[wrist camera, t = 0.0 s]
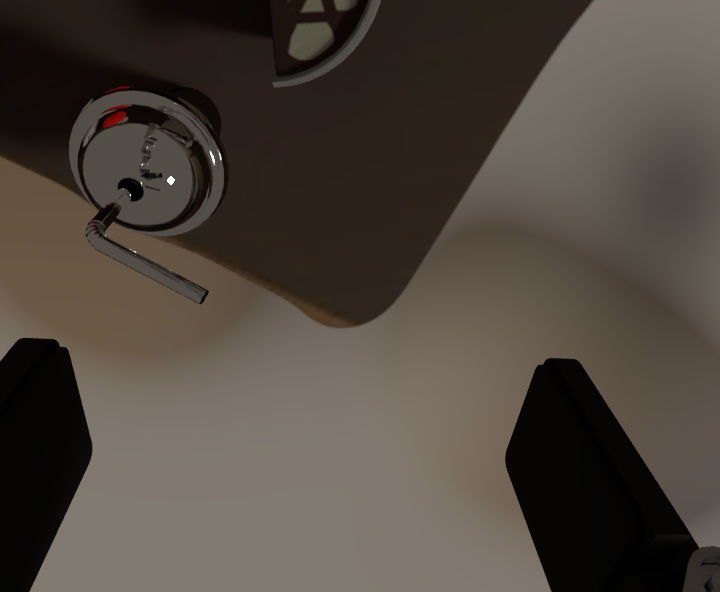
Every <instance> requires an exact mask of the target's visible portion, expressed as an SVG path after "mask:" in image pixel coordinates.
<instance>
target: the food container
mask: <svg viewBox="0 0 720 592" xmlns="http://www.w3.org/2000/svg"><path fill="white" fill-rule="evenodd" d="M380 2H381V0H270V13H271V25H272V37H273V48H274V59H275V73H274V78H273V82H272V83H273V84H274V87H285V86H293V85H297V84H300V83H304V82H307V81H310V80H313V79H315V78H317V77H319V76H321V75H323V74H325V73H327V72H328V71H330V70H331V69H333V68H334V67H336V66H337V65H339V64H340V63H341V62H342V61H343V60H344V59H345V58H346V57H347V56H348V55H349V54H350V53H351V52H353V51H354V49H355V48H356V47H357V45H358V44H359V43H360V41H361V40H362V39H363V37H364V36H365V35H366V33H367V31H368V29H369V27H370V25H371V24H372V22H373V20H374V18H375V15H376V13H377V10H378V7H379V5H380Z"/></svg>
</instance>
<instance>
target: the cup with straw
mask: <svg viewBox="0 0 720 592" xmlns="http://www.w3.org/2000/svg"><path fill="white" fill-rule="evenodd" d="M220 132H221V118H220V114H219V112H218V109H217V107H216V106H215V104H214V103H213V102H212V101H211V99H210V98H209V97H207V96H206V95H205V94H204V93H202V92H200V91H198V90H195V89H192V88H185V87H183V88H176V89H173V90H170V91H166V90H163V89H160V88H156V87H153V86H145V85H125V86H118V87H115V88H112V89H109V90H106V91H104V92H102V93H101V94H99V95H97V96H96V97H94V98H93V99H92V100H91V101H90V102H89V103H88V104H87V105H86V106H85V107H84V108H83V109H82V110H81V112H80V114H79V116H78V117H77V119H76V121H75V123H74V125H73V128H72V131H71V135H70V139H69V159H70V165H71V169H72V172H73V175H74V177H75V180H76V183H77V184H78V186H79V188H80V189H81V191H82V193H83V194H84V196H85V197H86V198H87V199H88V201H89V202H90V203H91V204H92V205H93V206H94V208H96V209H97V210H98V211H99V212H98V214H97V215H96V216H95V217H94V218H93V219H92V220H91V221H90V222H89V223H88V225H87V227H86V234H85V235H86V237H87V240H88V242H89V243H90V244H91V246H93V247H94V248H95V249H96V250H97V251H99V252H101V253H103V254H105V255H107V256H109V257H111V258H113V259H114V260H116V261H118V262H120V263H122V264H124V265H126V266H128V267H130V268H132V269H134V270H136V271H137V272H139V273H141V274H143V275H145V276H147V277H149V278H151V279H153V280H154V281H156V282H158V283H160V284H162V285H164V286H166V287H168V288H170V289H172V290H174V291H175V292H177V293H179V294H182V295H184V296H185V297H187V298H189V299H191V300H193V301H194V302H196V303H198V304H201V303H203V301H204V300H205V298H206V297H207V295H208V292H209V291H208V290H206V289H204V288H202V287H200V286H199V285H196V284H195V283H193V282H191V281H189V280H187V279H185V278H183V277H182V276H180V275H178V274H176V273H174V272H172V271H170V270H168V269H167V268H165V267H162V266H161V265H159V264H157V263H155V262H153V261H151V260H149V259H148V258H146V257H144V256H142V255H140V254H138V253H136V252H135V251H133V250H131V249H129V248H127V247H125V246H123V245H121V244H119V243H118V242H116V241H114V240H112V239H110V238H108V237H107V236H106V235H105V234H104V233H105V231H106V230H107V228H108V227H109V226H110V225H111V224H112V222H114V223H116V224H117V225H119V226H121V227H123V228H125V229H128V230H130V231H133V232H136V233H140V234H144V235H149V236H161V237H163V236H174V235H178V234H182V233H185V232H188V231H190V230H192V229H194V228H196V227H198V226H200V225H201V224H202V223H204V222H205V221H206V220H207V219H208V218H210V217H211V216H212V215H213V214H214V213H215V211H216V210H217V209H218V207H219V206H220V205H221V203H222V201H223V198H224V196H225V194H226V191H227V186H228V181H229V164H228V160H227V155H226V151H225V148H224V146H223V143H222V141H221V139H220Z"/></svg>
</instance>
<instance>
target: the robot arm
mask: <svg viewBox="0 0 720 592" xmlns="http://www.w3.org/2000/svg"><path fill="white" fill-rule="evenodd" d="M91 456H92V441H91V437H90V434H89V429H88V426H87V422H86V418H85V414H84V410H83V406H82V402H81V398H80V394H79V390H78V386H77V382H76V378H75V374H74V370H73V366H72V362H71V358H70V354H69V351H68V350H67V348H65V347H60V345H59V343H58V342H57V341H56V340H54V339H38V338H36V339H35V338H21V339H19V340H18V341H17V342H16V343H15V344H14V345H13V346H12V348H11V349H10V350H9V351H8V353H7V354H6V355H5V356H4V357H3V359H2V360H1V361H0V592H29V591H30V589H31V587H32V585H33V583H34V581H35V578H36V576H37V574H38V572H39V570H40V568H41V566H42V563H43V561H44V559H45V557H46V555H47V553H48V551H49V549H50V546H51V544H52V542H53V540H54V538H55V536H56V534H57V531H58V529H59V527H60V525H61V523H62V521H63V519H64V516H65V514H66V512H67V510H68V508H69V506H70V504H71V501H72V499H73V497H74V495H75V493H76V491H77V489H78V486H79V484H80V482H81V480H82V478H83V475H84V474H85V471H86V469H87V467H88V465H89V463H90V460H91ZM505 462H506V468H507V471H508V474H509V477H510V479H511V482H512V485H513V487H514V490H515V493H516V496H517V499H518V501H519V504H520V507H521V510H522V512H523V515H524V518H525V520H526V523H527V526H528V529H529V531H530V534H531V537H532V540H533V542H534V545H535V548H536V551H537V553H538V556H539V559H540V562H541V564H542V567H543V570H544V573H545V575H546V578H547V581H548V583H549V586H550V589H551V592H720V548H719V547H715V546H711V547H702V548H699V547H698V545H697V544H696V542H695V541H694V539H693V537H692V536H691V534H690V532H689V531H688V529H687V528H686V526H685V524H684V523H683V521H682V520H681V518H680V517H679V515H678V514H677V512H676V511H675V509H674V508H673V506H672V504H671V503H670V501H669V500H668V498H667V497H666V495H665V494H664V492H663V490H662V489H661V487H660V486H659V484H658V483H657V481H656V480H655V478H654V476H653V475H652V473H651V472H650V470H649V469H648V467H647V466H646V464H645V463H644V461H643V459H642V458H641V457H640V455H639V453H638V452H637V450H636V449H635V447H634V445H633V444H632V442H631V441H630V439H629V438H628V436H627V435H626V433H625V432H624V430H623V428H622V427H621V425H620V424H619V422H618V421H617V419H616V418H615V416H614V415H613V413H612V412H611V410H610V408H609V407H608V405H607V404H606V402H605V401H604V399H603V397H602V396H601V395H600V393H599V391H598V390H597V388H596V387H595V385H594V384H593V382H592V380H591V379H590V377H589V376H588V374H587V373H586V371H585V370H584V368H583V367H582V365H581V364H580V363H579V361H577V360H576V359H560V358H549V359H547V360H546V361H545V362H544V364H543V365H538V366H537V367H536V369H535V372H534V375H533V377H532V380H531V383H530V386H529V389H528V391H527V395H526V397H525V400H524V403H523V406H522V408H521V411H520V414H519V417H518V420H517V423H516V425H515V428H514V431H513V434H512V437H511V439H510V442H509V445H508V448H507V451H506V457H505Z"/></svg>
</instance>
